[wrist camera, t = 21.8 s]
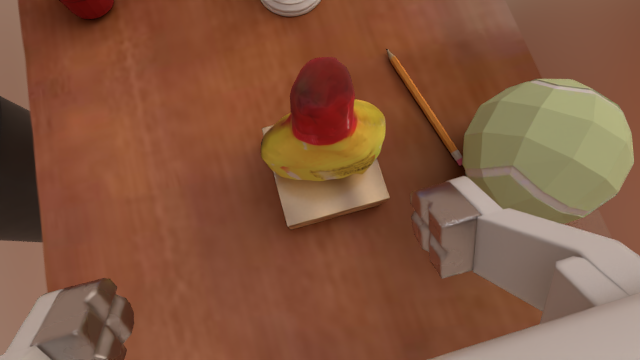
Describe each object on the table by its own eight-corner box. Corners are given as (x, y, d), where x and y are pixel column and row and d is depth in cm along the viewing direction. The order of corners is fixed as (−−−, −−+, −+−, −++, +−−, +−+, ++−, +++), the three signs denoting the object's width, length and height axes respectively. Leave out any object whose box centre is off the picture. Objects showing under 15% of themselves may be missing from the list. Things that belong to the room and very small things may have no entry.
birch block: (290, 230, 44) (287, 226, 39) (267, 141, 46) (261, 128, 41) (381, 204, 44) (389, 197, 40) (354, 118, 47) (358, 102, 42)
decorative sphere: (487, 185, 30) (420, 177, 44) (626, 264, 31) (516, 231, 46) (572, 29, 30) (476, 73, 44) (706, 117, 31) (570, 131, 46)
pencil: (467, 161, 45) (390, 46, 49) (464, 163, 44) (386, 46, 48) (461, 165, 46) (385, 51, 49) (458, 167, 45) (381, 51, 49)
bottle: (273, 195, 39) (232, 135, 20) (267, 141, 41) (222, 36, 21) (377, 179, 40) (437, 106, 20) (367, 127, 41) (414, 11, 22)
